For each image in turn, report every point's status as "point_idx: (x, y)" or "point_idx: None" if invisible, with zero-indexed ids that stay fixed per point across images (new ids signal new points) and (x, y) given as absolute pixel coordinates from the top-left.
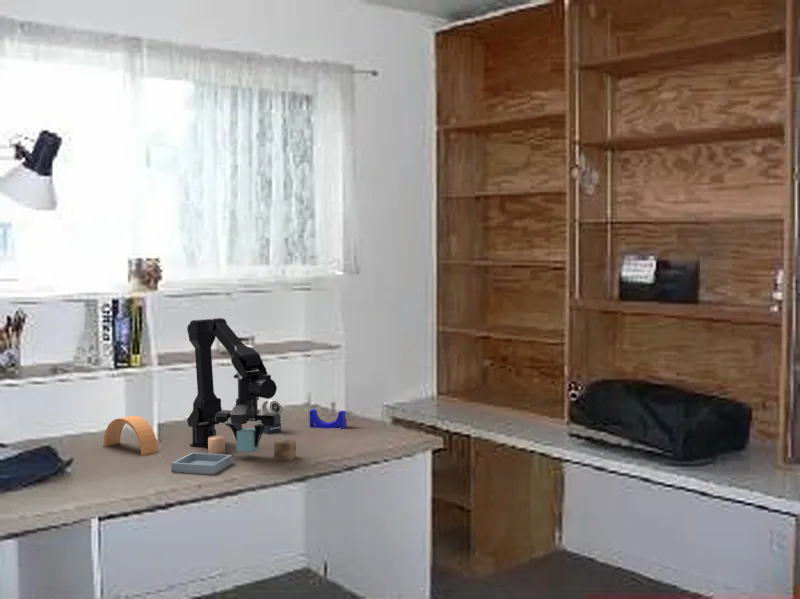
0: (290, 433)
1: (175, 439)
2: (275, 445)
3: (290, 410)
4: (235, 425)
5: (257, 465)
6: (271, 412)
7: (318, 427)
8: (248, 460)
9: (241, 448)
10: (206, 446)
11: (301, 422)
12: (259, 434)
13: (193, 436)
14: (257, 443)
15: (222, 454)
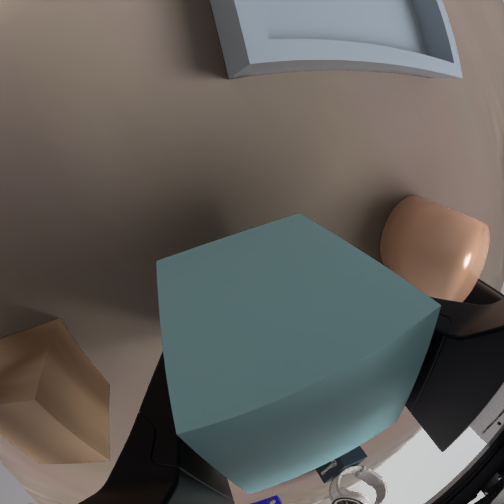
0: None
1: None
2: (31, 387)
3: (350, 481)
4: (501, 352)
5: (32, 143)
6: (351, 495)
7: (259, 502)
8: (176, 211)
9: (271, 235)
10: None
11: (308, 489)
12: (133, 441)
13: (489, 287)
14: (163, 359)
15: (331, 57)
